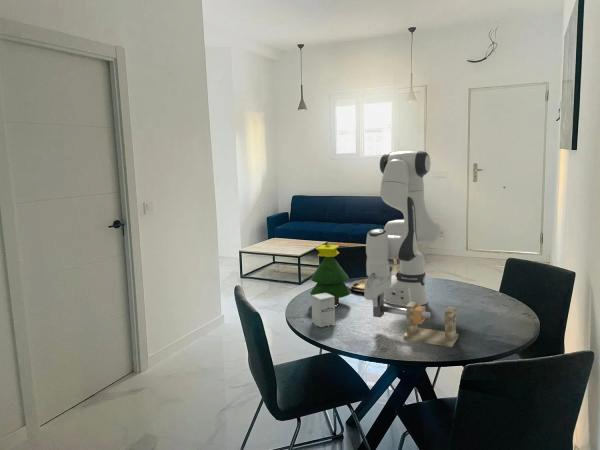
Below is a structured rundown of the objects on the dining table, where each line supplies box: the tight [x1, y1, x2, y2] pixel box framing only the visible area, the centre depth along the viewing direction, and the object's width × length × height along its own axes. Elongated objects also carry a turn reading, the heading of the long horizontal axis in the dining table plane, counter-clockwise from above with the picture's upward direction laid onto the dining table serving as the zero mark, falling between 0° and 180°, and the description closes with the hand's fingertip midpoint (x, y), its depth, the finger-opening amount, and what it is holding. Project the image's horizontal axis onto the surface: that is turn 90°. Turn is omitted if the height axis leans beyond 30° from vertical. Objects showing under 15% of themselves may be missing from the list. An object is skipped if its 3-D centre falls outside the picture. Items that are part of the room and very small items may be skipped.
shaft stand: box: [403, 302, 459, 348], centre depth 177 cm, size 18×10×12 cm, turn 59°
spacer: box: [413, 305, 426, 325], centre depth 179 cm, size 3×5×5 cm, turn 149°
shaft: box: [372, 292, 432, 320], centre depth 182 cm, size 22×4×10 cm, turn 59°
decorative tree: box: [310, 243, 352, 305], centre depth 220 cm, size 19×19×30 cm
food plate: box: [346, 278, 393, 293], centre depth 245 cm, size 25×23×4 cm
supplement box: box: [310, 293, 336, 328], centre depth 196 cm, size 7×7×13 cm
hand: (378, 304), depth 187 cm, fingers closed on shaft, 4 cm apart
